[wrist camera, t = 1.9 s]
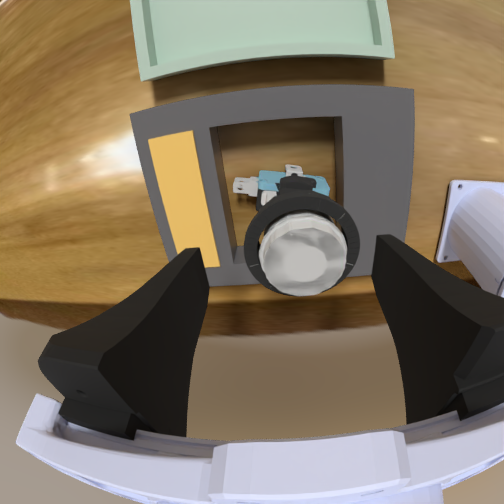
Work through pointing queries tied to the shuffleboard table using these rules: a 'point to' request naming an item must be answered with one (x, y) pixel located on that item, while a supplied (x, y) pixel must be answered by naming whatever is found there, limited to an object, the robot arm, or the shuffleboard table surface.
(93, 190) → the shuffleboard table surface
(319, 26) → the parts tray
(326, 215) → the push button
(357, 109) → the panel
